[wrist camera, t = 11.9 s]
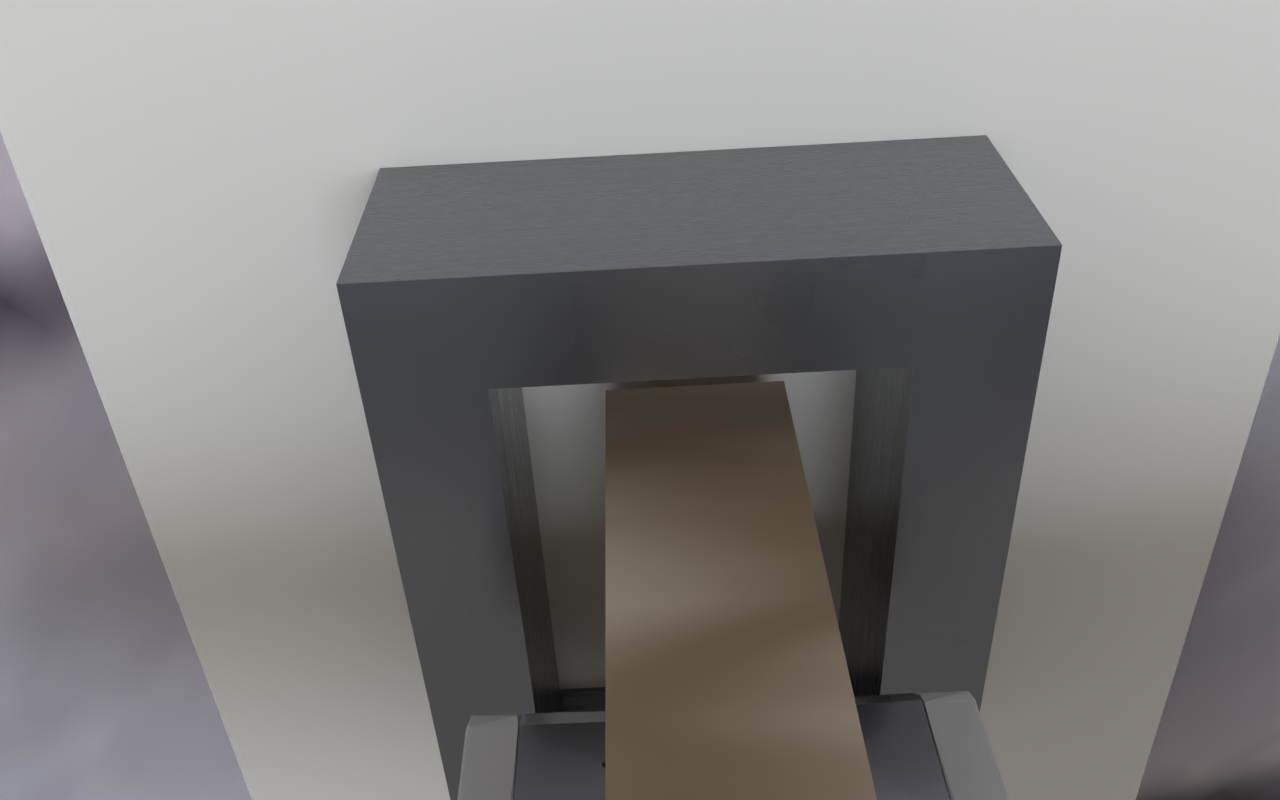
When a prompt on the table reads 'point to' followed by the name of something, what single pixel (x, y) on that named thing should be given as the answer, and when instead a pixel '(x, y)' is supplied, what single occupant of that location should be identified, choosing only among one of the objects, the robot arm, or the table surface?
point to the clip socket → (701, 376)
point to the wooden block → (719, 607)
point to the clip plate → (576, 414)
